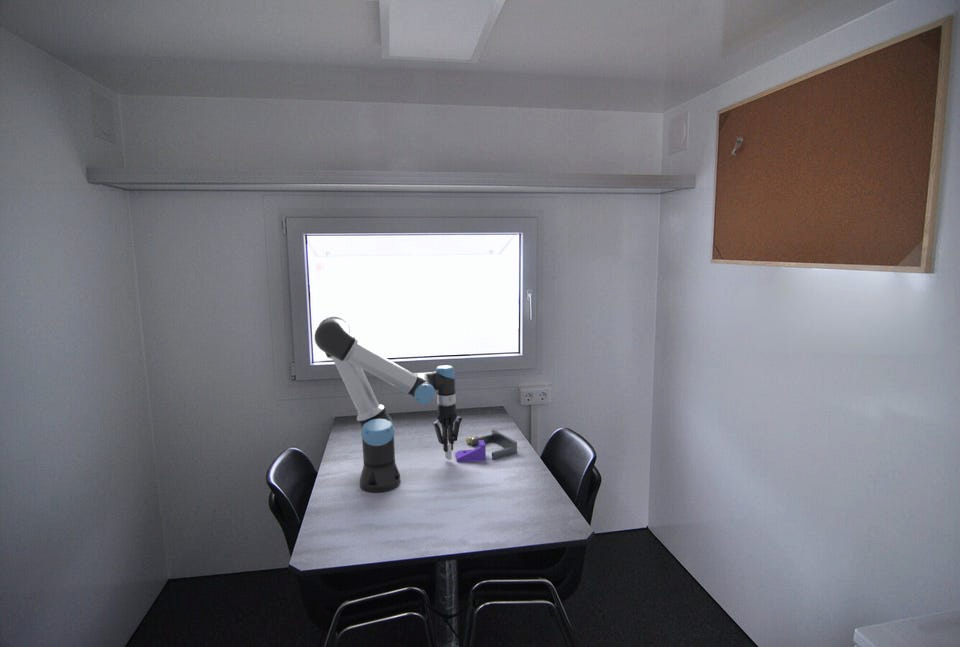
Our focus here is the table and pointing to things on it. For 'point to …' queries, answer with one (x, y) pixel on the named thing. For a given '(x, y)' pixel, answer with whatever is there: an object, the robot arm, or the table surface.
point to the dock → (499, 439)
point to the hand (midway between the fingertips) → (448, 458)
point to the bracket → (472, 453)
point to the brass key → (470, 439)
